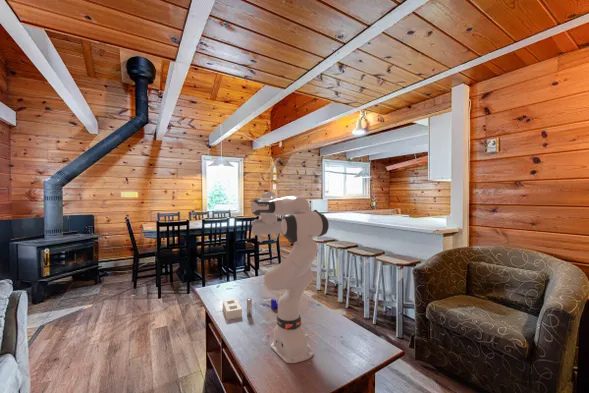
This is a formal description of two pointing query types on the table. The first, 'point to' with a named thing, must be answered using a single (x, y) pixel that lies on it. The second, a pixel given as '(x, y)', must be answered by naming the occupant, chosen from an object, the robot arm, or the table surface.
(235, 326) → the table surface
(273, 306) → the cable clip
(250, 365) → the table surface
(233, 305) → the hole block
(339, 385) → the table surface
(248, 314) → the peg
